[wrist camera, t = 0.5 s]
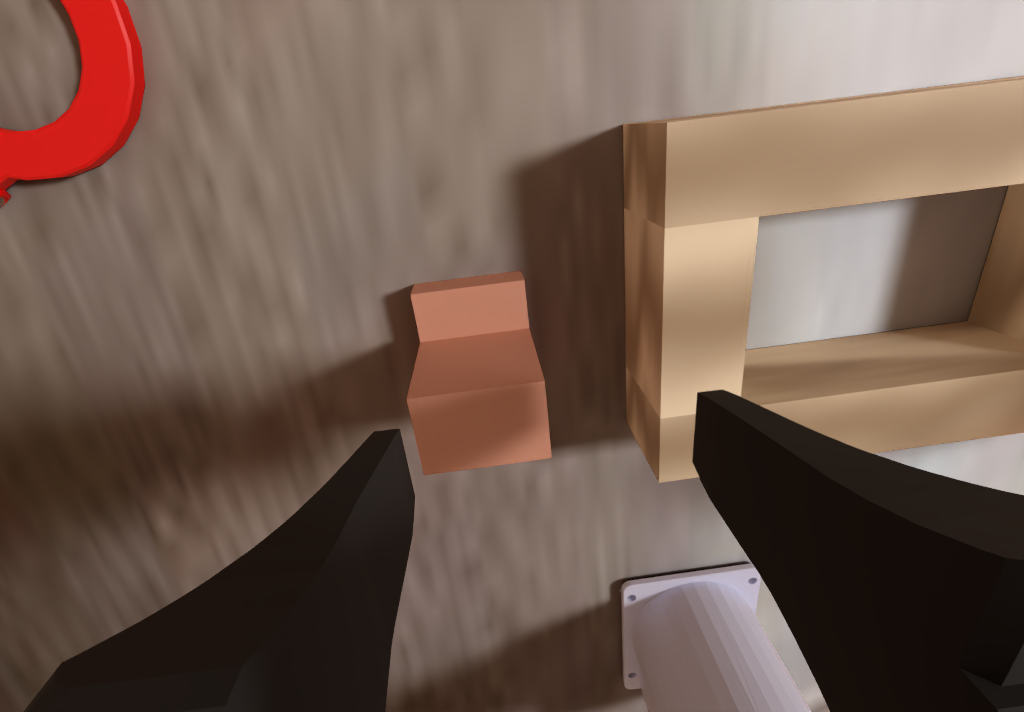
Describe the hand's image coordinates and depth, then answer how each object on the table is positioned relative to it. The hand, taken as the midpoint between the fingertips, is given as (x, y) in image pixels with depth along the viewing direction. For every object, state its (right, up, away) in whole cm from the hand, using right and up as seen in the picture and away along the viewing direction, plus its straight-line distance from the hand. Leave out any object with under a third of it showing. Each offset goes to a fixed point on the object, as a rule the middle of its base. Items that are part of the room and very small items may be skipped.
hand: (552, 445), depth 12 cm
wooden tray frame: (+13, +6, +9) cm, 17 cm away
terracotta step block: (-2, +2, +10) cm, 10 cm away
